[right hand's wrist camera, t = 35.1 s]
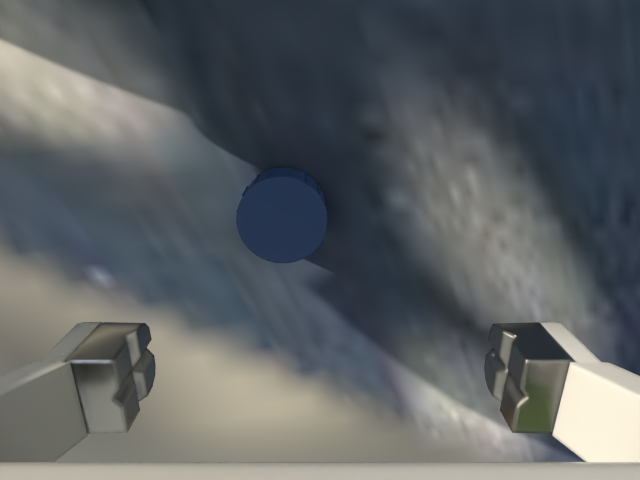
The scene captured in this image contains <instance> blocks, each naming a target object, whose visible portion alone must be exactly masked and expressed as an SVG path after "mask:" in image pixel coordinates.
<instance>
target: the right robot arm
mask: <svg viewBox="0 0 640 480" xmlns="http://www.w3.org/2000/svg"><path fill="white" fill-rule="evenodd" d="M150 341H151V335H150V330H149V327H148V326H147V325H146V323H112V322H104V323H102V322H83V323H78V324H77V325H76V326H75V327H74V328H73V329H72V330H71V331H70V332H69V333H68V334H67V335H66V336H65V337H63V339H62V340H60V342H58V343H57V344H56V345H55V346H54V347H53V348H52V349H51V350H50V351H49V352H48V353H47V354H46V355H45V356H44V357H43V358H42V359H41V360H40V361H39V362H31V363H29V364H26V365H24V366H22V367H20V368H17V369H15V370H13V371H10V372H8V373H6V374H4V375H1V376H0V480H640V376H639V375H636V374H634V373H632V372H629V371H627V370H625V369H623V368H620V367H618V366H616V365H614V364H611V363H609V362H601V361H600V360H599V359H598V358H597V357H596V356H595V355H594V354H593V353H592V352H591V351H590V350H589V349H588V348H587V347H586V346H585V345H584V344H583V343H582V342H581V341H580V340H579V339H578V338H577V337H576V336H575V335H574V334H573V333H572V332H571V331H570V330H569V329H568V328H567V327H565V326H564V325H563V324H562V323H559V322H541V323H503V324H493V325H492V327H491V329H490V334H489V341H490V342H491V344H492V346H493V347H494V348H493V349H492V350H491V351H490V352H489V353H488V354H487V355H486V359H485V367H484V368H485V379H486V382H487V386H488V389H489V390H490V392H491V394H492V396H493V397H495V398H496V399H498V400H499V401H501V408H500V411H501V413H502V414H503V416H504V418H505V420H506V422H507V423H508V425H509V427H510V429H511V431H512V432H513V433H547V434H552V436H554V437H555V438H556V439H557V440H559V441H560V442H561V443H563V444H564V445H565V446H566V447H568V448H569V449H570V450H572V451H573V452H574V453H575V454H577V455H578V456H579V457H580V458H582V459H583V460H584V461H586V462H55V461H56V460H57V459H58V458H60V457H61V456H62V455H64V454H65V453H66V452H67V451H69V450H70V449H71V448H72V447H74V446H75V445H76V444H78V443H79V442H80V441H81V440H83V439H84V438H85V437H87V434H92V433H127V432H128V431H129V429H130V427H131V425H132V423H133V422H134V420H135V418H136V416H137V414H138V413H139V411H140V408H139V401H141V400H142V399H144V398H145V397H147V396H148V394H149V392H150V390H151V388H152V386H153V382H154V378H155V359H154V355H153V354H152V353H151V352H150V351H149V350H148V349H147V348H146V347H147V346H148V344H149V343H150Z"/></svg>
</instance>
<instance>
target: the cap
mask: <svg viewBox="0 0 640 480" xmlns="http://www.w3.org/2000/svg"><path fill="white" fill-rule="evenodd" d="M242 196H243V198H242V199H241V201H240V204H239V206H238V210H237V228H238V231H239V234H240V237H241V239H242V240H243V242H244V244H245V245H246V246H247V247H248V249H250V250H251V251H252V252H253V253H254V254H256V255H257V256H259V257H260V258H262V259H265V260H267V261H271V262H275V263H291V262H295V261H298V260H301V259H303V258H305V257H307V256H309V255H310V254H311V253H313V252H314V251H315V250H316V249H317V248H318V246H319V245H320V244H321V242H322V240H323V238H324V236H325V233H326V230H327V226H328V222H327V221H328V219H327V211H326V210H327V203H326V198H324V196H323V193H322V191H321V189H320V186H319V184H317V183H316V182H315V181H314V180H313V179H312V178H311V177H310V176H309V175H307V173H304V172H302V171H300V170H297V169H294V168H291V167H289V168H288V167H279V168H274V167H273V168H272V169H270V170H267V171H265V172H263V173H261V174H260V175H259V174H258V175H257V177H256V178H255V179H254V180H253V181H252V182H251V184H250V185H249V186H247V187H246V189H245V191H244V193H243V195H242Z"/></svg>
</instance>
